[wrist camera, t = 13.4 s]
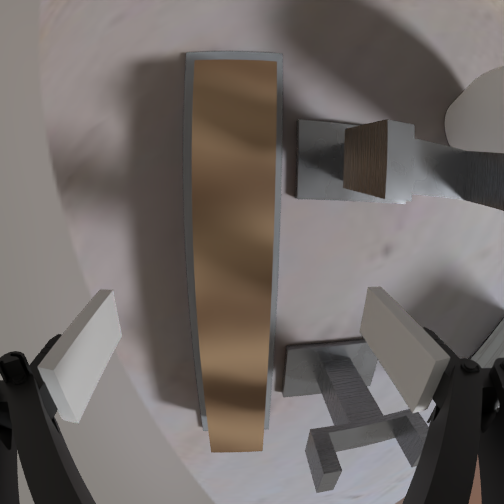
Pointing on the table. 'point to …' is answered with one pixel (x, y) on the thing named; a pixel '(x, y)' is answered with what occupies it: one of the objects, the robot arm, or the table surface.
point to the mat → (188, 209)
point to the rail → (234, 242)
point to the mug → (478, 115)
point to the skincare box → (491, 348)
